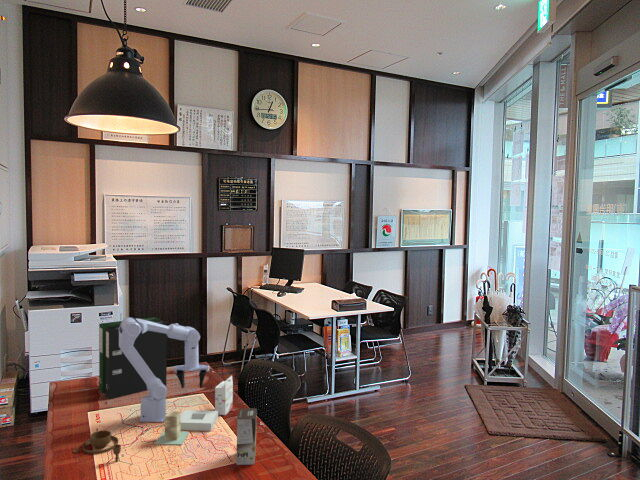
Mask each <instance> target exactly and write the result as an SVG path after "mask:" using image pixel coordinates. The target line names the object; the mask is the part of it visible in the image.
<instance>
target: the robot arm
mask: <svg viewBox="0 0 640 480" xmlns="http://www.w3.org/2000/svg"><path fill="white" fill-rule="evenodd" d="M135 319H136V320H137V321H136V320H135ZM121 321H122V322H121V324H120V327H119V347H120V349H121V350H122V352H123V353H124V355H125V356H126V357H127V359H128V360H129V361H130V363H131V364H132V365H133V367H134V368H135V370H136V371H137V372H138V374H139V375H140V376H141V378H142V379H143V380H144V382H145V383H146V386H147V391H148V394H147V396H143V397H142V399H141V402H140V419H139V422H141V423H143V422H144V423H145V422H147V423H148V422H149V423H163V422H165V415H166V414H167V413H168V412H166V410H167V406H166V405H167V403H166V401H167V393H168V387H167V385H166V386H165V385H164V384H163V383H162V381H161V380H160V379H159V378H156V377H155V375H154V374H153V373H152V371H151V370H150V368H149V367H148V366H147V364H146V363H145V362H144V360H143V359H142V357H141V356H140V355H139V353H138V352H137V350H136V349H135V348H134V346H133V345H134V342H135V339H136V338H137V337H138V335H139V334H140V332H141V333H142V334H143V333H145V332H146V331H154V332H159V333H165V334H167V338H169V339H175V340H178V341H184V364H182V365H181V364H180V365H175V366H174V367H173V372H176V373H175V375H176V377H177V379H178V380H179V383H180V387H181V389H184V388H185V385H186V384H185V372H199V375H198V376H199V388H200V389H202V388H203V384H204V379H205V377H206V374H207V372H210V365H206V364H200V363H199V359H200V357H199V342H200V339H201V334H200V333H199V331H198V329H197V330H196V328H194V327H192V326H188V325H186V326H183V325H180V324H179V323H176V322H175V323H171V324H169V325H167V326H166V325H162V324H158V323H155V322H151V321H147V320H143V318H134V317H131V316H130V317H129V316H128V317H125V318H123V319H122V320H121Z"/></svg>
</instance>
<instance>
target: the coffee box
mask: <svg viewBox="0 0 640 480" xmlns="http://www.w3.org/2000/svg"><path fill="white" fill-rule="evenodd" d="M257 415H258V408H254V407H252V408H251V407H250V408H249V407H248V408H239V411H238V414H237V417H236V422H237V423H236V463H235V465H237V466H242V465H244V466H245V465H249V466H251V465H255V460H256V455H257V454H256V453H257V421H258V420H257Z"/></svg>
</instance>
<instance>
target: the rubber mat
mask: <svg viewBox="0 0 640 480" xmlns="http://www.w3.org/2000/svg"><path fill="white" fill-rule="evenodd" d="M189 434H190V431H185V430H180V436H179V437H178V439H177V440H165V430H163V432H162V433H161V434H160V435H159V437H158V438H157V440H156V441H155V442H154V445H158V446H159V445H160V446H162V445H163V446H164V445H166V446H169V445H170V446H182V445H183V444H184V443H185V441H186V439H187V437H189Z"/></svg>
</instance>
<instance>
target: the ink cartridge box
mask: <svg viewBox="0 0 640 480" xmlns="http://www.w3.org/2000/svg"><path fill="white" fill-rule="evenodd" d="M233 388H234V382H233V375H230V376H229V377H228V378H227V379H226V380H222V381H221V382H220V383H218V385H216V386H215V388H214V403H215V404H214V405H215V406H214V411H218V416H227V414H228V413H229V412H230V411H231V410H232V409H233V402H234V397H233V393H234V392H233V391H234V389H233Z"/></svg>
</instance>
